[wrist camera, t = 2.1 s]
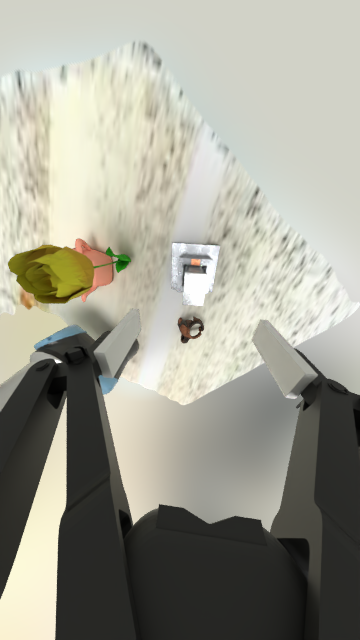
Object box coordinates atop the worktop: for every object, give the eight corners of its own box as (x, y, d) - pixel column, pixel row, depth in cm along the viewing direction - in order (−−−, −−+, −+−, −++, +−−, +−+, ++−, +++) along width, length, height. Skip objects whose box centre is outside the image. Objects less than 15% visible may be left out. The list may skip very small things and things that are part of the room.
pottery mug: (179, 310, 53) (189, 318, 46) (198, 313, 58) (209, 321, 51) (171, 336, 56) (179, 347, 49) (189, 338, 61) (199, 348, 54)
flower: (138, 274, 46) (70, 316, 21) (115, 267, 46) (16, 302, 20) (140, 246, 42) (58, 258, 16) (115, 239, 41) (-12, 237, 16)
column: (186, 278, 44) (181, 304, 26) (187, 258, 41) (183, 273, 23) (199, 279, 44) (203, 306, 26) (201, 259, 41) (208, 274, 23)
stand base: (172, 287, 48) (166, 301, 37) (173, 242, 40) (166, 243, 30) (211, 290, 47) (216, 305, 36) (219, 245, 40) (229, 247, 29)
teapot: (114, 243, 42) (93, 244, 33) (115, 295, 51) (99, 307, 42) (77, 233, 41) (46, 232, 32) (85, 288, 51) (62, 298, 42)
